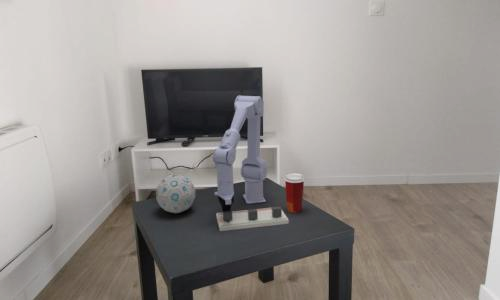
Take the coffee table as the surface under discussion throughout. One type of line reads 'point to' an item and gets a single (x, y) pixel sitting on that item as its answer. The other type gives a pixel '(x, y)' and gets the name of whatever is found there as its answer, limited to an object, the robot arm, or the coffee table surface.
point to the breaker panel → (243, 222)
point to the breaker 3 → (276, 211)
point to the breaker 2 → (252, 214)
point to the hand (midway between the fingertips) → (226, 215)
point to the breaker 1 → (227, 215)
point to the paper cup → (294, 192)
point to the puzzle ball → (175, 193)
